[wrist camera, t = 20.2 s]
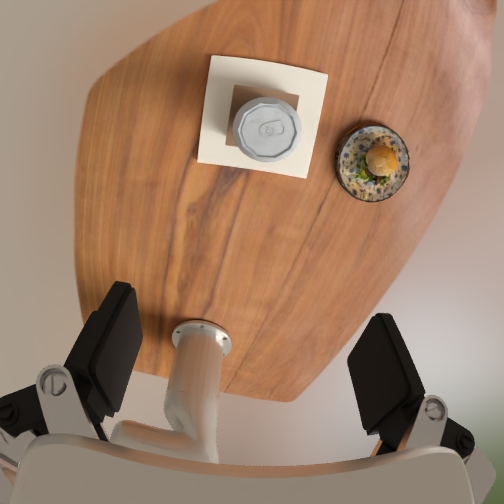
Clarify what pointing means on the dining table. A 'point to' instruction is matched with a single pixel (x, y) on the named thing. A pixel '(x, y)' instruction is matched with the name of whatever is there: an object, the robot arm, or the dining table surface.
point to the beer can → (267, 129)
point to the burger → (371, 162)
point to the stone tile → (267, 77)
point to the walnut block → (247, 94)
